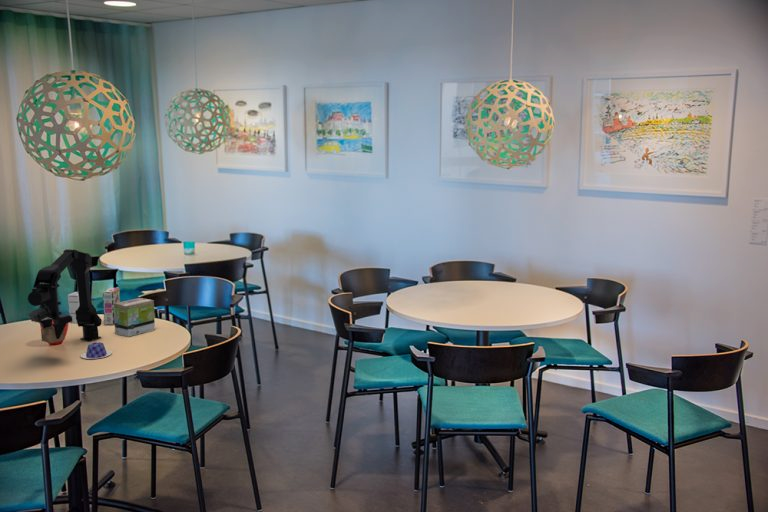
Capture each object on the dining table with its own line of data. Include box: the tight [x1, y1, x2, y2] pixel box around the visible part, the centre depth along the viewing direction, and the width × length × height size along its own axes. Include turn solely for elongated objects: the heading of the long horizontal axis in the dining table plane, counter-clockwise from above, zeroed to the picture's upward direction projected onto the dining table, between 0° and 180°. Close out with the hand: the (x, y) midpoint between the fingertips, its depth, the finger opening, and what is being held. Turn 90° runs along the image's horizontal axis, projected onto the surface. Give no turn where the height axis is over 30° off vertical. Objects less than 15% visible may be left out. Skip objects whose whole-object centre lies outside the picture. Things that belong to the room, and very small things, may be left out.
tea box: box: [114, 297, 156, 338], centre depth 317 cm, size 15×10×15 cm
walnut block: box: [40, 326, 65, 344], centre depth 277 cm, size 6×6×5 cm
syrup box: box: [67, 291, 79, 324], centre depth 334 cm, size 6×6×14 cm
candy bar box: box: [102, 287, 121, 326], centre depth 333 cm, size 11×5×16 cm, turn 5°
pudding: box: [80, 341, 113, 360], centre depth 284 cm, size 12×12×5 cm
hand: (53, 337), depth 277 cm, fingers closed on walnut block, 6 cm apart
